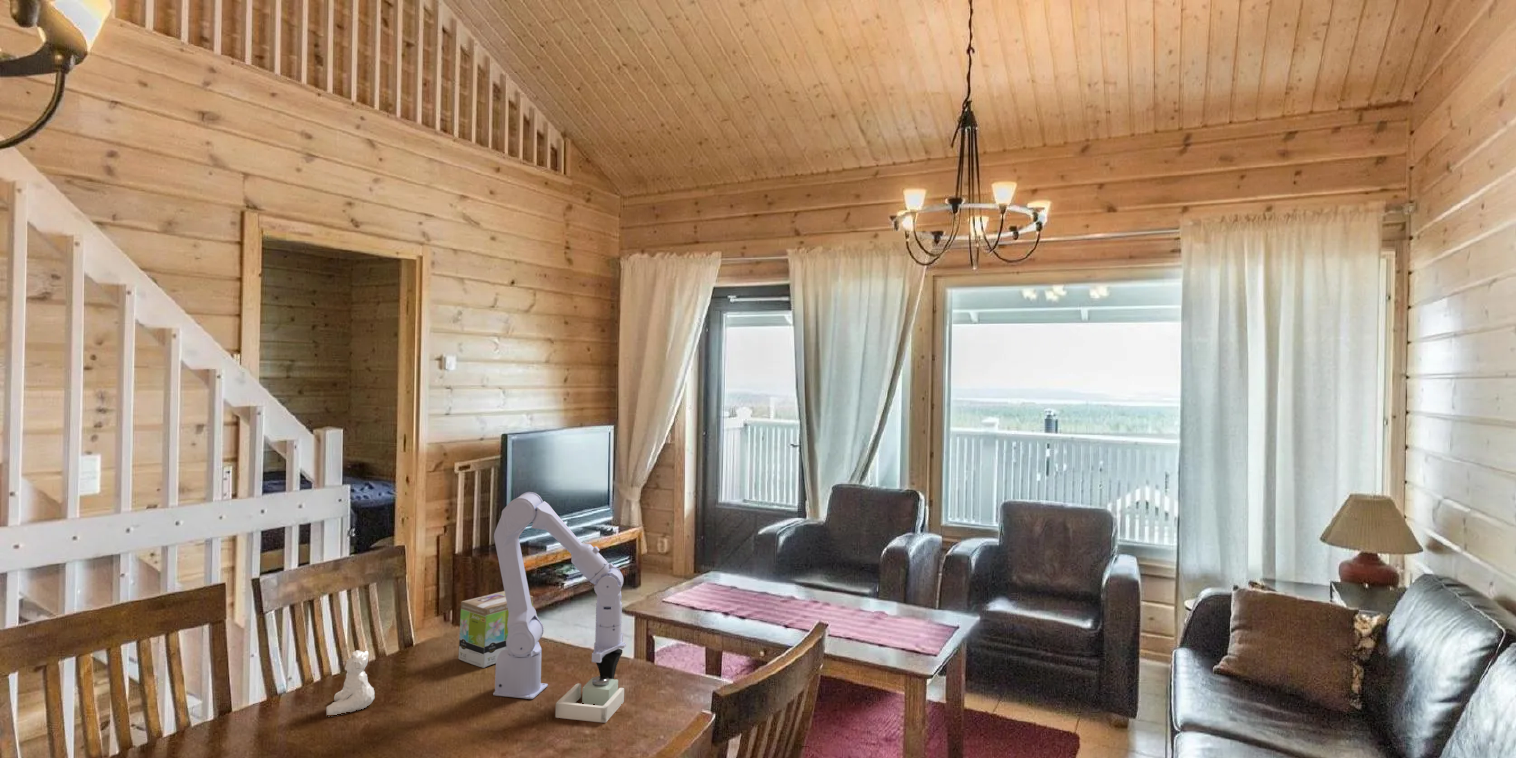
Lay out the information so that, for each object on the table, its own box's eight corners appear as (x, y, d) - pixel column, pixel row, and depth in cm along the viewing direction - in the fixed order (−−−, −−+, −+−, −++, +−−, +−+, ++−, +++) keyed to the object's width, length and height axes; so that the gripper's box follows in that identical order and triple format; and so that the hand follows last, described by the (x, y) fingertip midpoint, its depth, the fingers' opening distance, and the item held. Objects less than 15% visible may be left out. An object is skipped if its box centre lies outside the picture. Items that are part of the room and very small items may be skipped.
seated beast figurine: (336, 699, 176) (337, 644, 176) (379, 696, 179) (380, 641, 178) (324, 717, 167) (325, 659, 167) (370, 714, 169) (371, 656, 169)
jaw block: (582, 703, 177) (582, 682, 177) (592, 692, 183) (592, 672, 183) (608, 705, 176) (609, 685, 176) (617, 695, 182) (618, 675, 182)
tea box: (484, 669, 196) (485, 608, 196) (457, 660, 201) (458, 600, 201) (533, 652, 208) (534, 594, 208) (506, 644, 214) (507, 587, 214)
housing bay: (555, 717, 170) (555, 703, 170) (576, 696, 181) (576, 683, 181) (605, 722, 168) (605, 708, 168) (623, 701, 179) (624, 688, 179)
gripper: (614, 634, 176) (612, 697, 176) (636, 615, 190) (634, 673, 190) (583, 632, 177) (581, 694, 177) (607, 613, 191) (606, 670, 191)
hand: (607, 683), depth 184 cm, fingers closed
